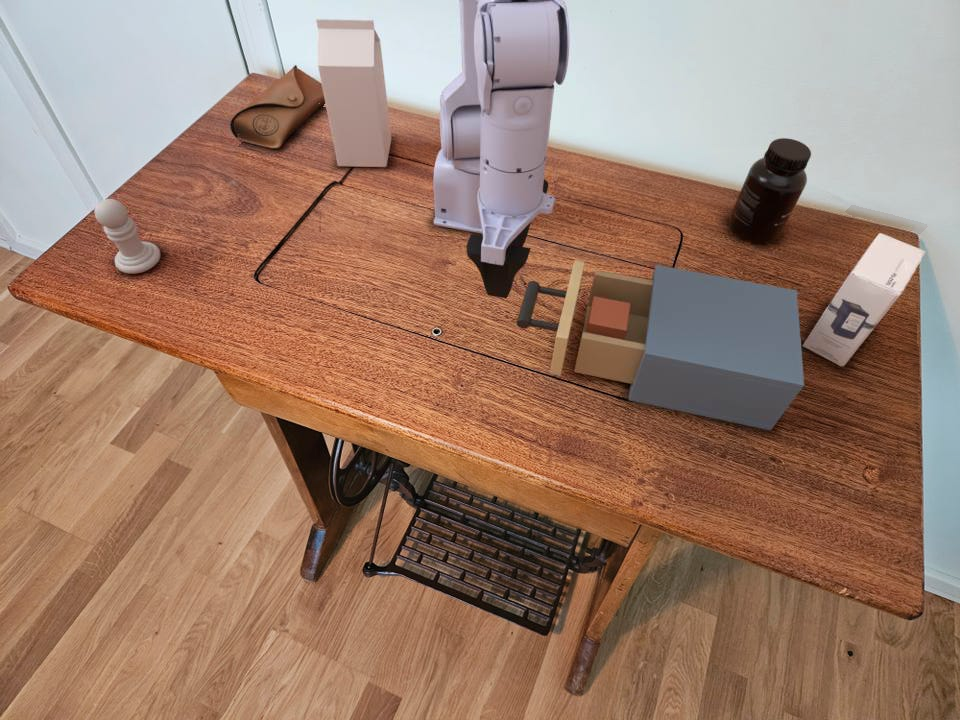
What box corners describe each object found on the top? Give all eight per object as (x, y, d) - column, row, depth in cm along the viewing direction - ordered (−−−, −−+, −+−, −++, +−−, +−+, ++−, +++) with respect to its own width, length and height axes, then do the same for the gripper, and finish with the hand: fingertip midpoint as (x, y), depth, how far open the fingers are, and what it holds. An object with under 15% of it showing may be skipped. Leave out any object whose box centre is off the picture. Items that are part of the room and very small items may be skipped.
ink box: (828, 304, 74) (880, 228, 65) (870, 325, 73) (929, 249, 63) (800, 346, 70) (851, 271, 61) (843, 369, 68) (902, 295, 59)
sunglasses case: (280, 149, 91) (250, 107, 88) (252, 160, 96) (222, 122, 92) (340, 90, 102) (315, 51, 98) (312, 103, 106) (287, 66, 102)
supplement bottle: (782, 248, 80) (824, 170, 71) (728, 241, 81) (762, 162, 72) (777, 215, 84) (816, 136, 75) (726, 208, 85) (758, 129, 76)
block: (582, 347, 67) (588, 323, 64) (588, 320, 70) (593, 295, 67) (619, 354, 67) (626, 330, 64) (623, 327, 69) (630, 303, 66)
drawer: (508, 365, 67) (511, 327, 62) (529, 291, 74) (534, 252, 69) (676, 400, 65) (694, 364, 60) (682, 321, 71) (698, 282, 66)
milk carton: (386, 168, 90) (369, 33, 75) (337, 167, 90) (311, 32, 75) (391, 140, 94) (376, 7, 79) (345, 139, 94) (321, 6, 79)
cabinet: (628, 400, 66) (645, 353, 59) (639, 314, 73) (656, 264, 67) (770, 431, 63) (804, 385, 57) (767, 339, 71) (797, 290, 65)
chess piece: (109, 274, 76) (72, 216, 69) (126, 245, 79) (92, 186, 72) (152, 276, 76) (119, 218, 69) (168, 246, 79) (138, 188, 72)
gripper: (544, 213, 48) (530, 327, 59) (572, 115, 57) (556, 229, 68) (456, 199, 49) (459, 313, 60) (497, 104, 58) (493, 218, 69)
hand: (506, 268), depth 64 cm, fingers open, 7 cm apart
